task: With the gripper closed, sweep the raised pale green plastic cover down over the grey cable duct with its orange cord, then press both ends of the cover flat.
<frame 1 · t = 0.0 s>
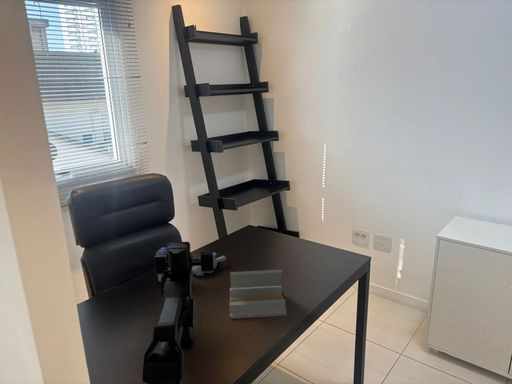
hand: (187, 252, 128), 17 cm above the table, tool horizontal, fingers open, 9 cm apart
ink cartridge box: (173, 279, 144), on the table
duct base: (256, 303, 127), on the table
bunny figurine: (208, 269, 152), on the table
duct cover: (255, 279, 126), point 8 cm above the table, hinge at 55.0°
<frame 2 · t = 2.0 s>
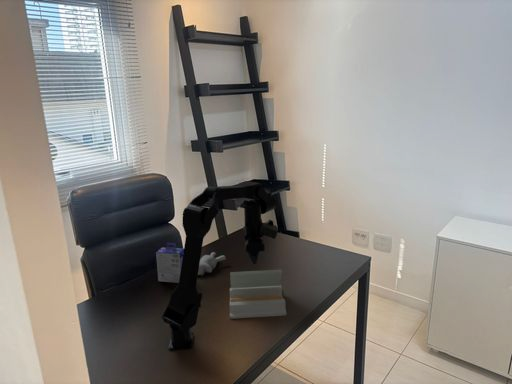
hand: (254, 259, 132), 12 cm above the table, tool pointing down, fingers open, 6 cm apart
nothing on the table moved.
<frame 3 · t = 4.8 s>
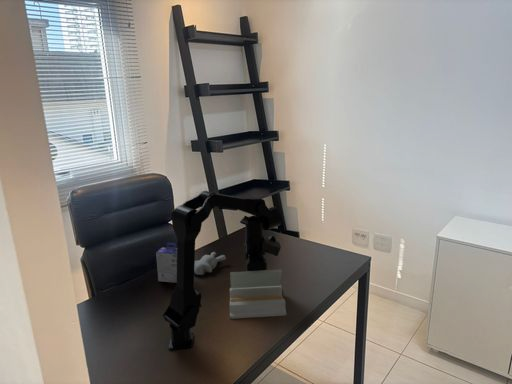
hand: (255, 277, 126), 9 cm above the table, tool pointing down, fingers closed, pressing on duct cover
duct cover: (255, 279, 126), point 8 cm above the table, hinge at 55.0°, touching gripper
everything else where it was.
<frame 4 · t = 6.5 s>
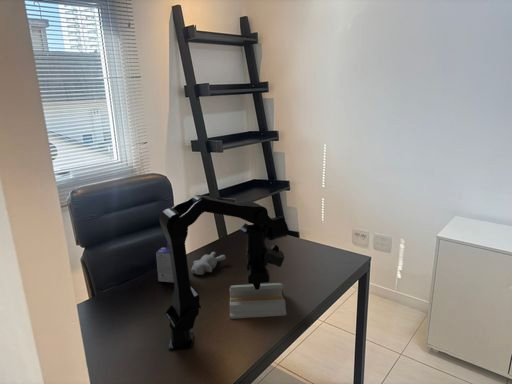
hand: (257, 289, 118), 9 cm above the table, tool pointing down, fingers closed
duct cover: (256, 286, 125), point 6 cm above the table, hinge at 25.8°
everything else where it was.
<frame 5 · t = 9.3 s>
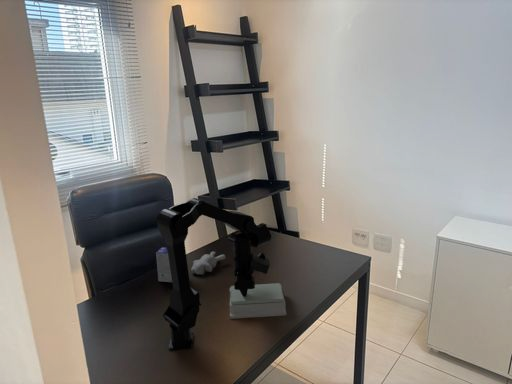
hand: (244, 295, 123), 5 cm above the table, tool pointing down, fingers closed on duct cover
duct cover: (256, 293, 124), point 4 cm above the table, hinge at 0.1°, touching gripper
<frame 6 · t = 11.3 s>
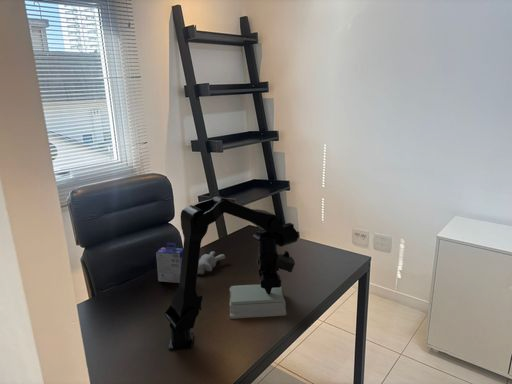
hand: (268, 293, 124), 5 cm above the table, tool pointing down, fingers closed, pressing on duct cover
duct cover: (256, 293, 124), point 4 cm above the table, hinge at -0.4°, touching gripper
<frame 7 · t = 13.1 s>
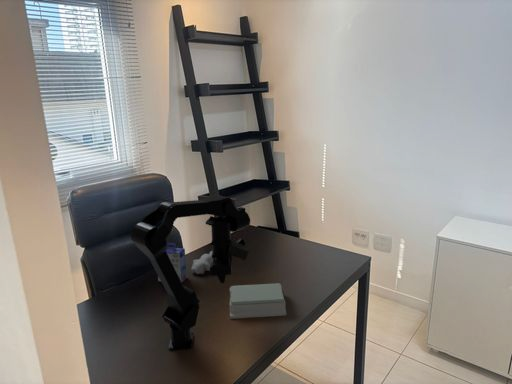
hand: (222, 282, 117), 12 cm above the table, tool pointing down, fingers closed
duct cover: (256, 293, 124), point 4 cm above the table, hinge at -0.4°
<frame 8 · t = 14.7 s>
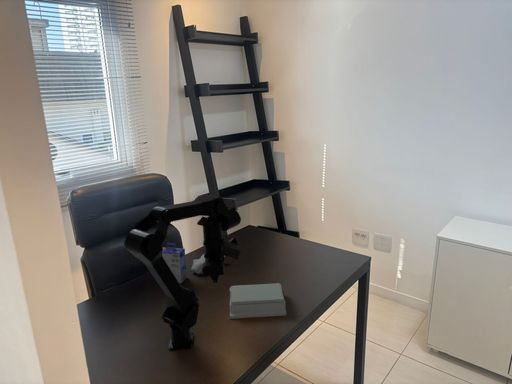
hand: (215, 282, 117), 12 cm above the table, tool pointing down, fingers closed
at the end: duct cover at +0° (first picture: +55°) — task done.
